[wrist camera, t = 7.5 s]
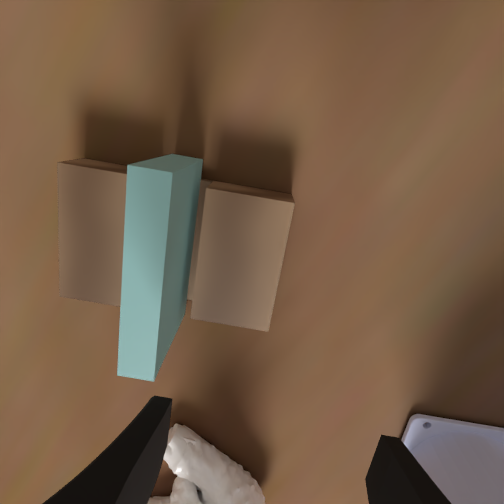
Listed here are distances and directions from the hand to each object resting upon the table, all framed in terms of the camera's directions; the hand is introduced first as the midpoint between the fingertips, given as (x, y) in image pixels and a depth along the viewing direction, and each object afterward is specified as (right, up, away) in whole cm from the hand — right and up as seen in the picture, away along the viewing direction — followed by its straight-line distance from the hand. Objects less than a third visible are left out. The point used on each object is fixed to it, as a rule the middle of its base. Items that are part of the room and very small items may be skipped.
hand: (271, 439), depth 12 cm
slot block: (-5, +7, +8) cm, 12 cm away
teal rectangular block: (-5, +7, +7) cm, 11 cm away
